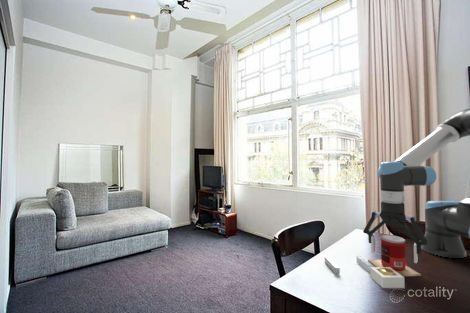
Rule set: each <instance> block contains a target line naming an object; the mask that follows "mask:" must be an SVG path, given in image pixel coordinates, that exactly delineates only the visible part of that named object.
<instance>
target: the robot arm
mask: <svg viewBox="0 0 470 313" xmlns="http://www.w3.org/2000/svg"><path fill="white" fill-rule="evenodd" d="M468 136H469V137H470V108H466V109H464V110H460V111H458V112H456V113H455V114H453V115H451V116H450V117H448V118H447V119H445V120H443V121H441V122H440V123H439V124H438V125H437V126H435V129H434V131H432V132H431V133H430V134H428V135H427V136H426V137H425V138H423V139H422V140H420V141H419V142H418V143H417V144H415V145H414V146H413V147H411V148H410V149H408V150H407V151H406V152H404V153H403V154H402V155H401V156H399V157H398V158H396V159H395V160H394V161H382V162H381V163H380V166H379V167H378V169H377V171H376V173H377V174H376V175H377V177H378V178H379V179H380V180H379V182H380V200H381V201H380V212H378V211H376V210H374V211H372V212H371V217H370V219H369V220H368V222H367V224H366V225H365V227H364V229H363V230H362V232H363V233H364V234H366V235H367V236H368V243H369V244H371V253H373V254H374V253H375V252H376V234H375V232H377V231H378V230H379V229H380V228H382V227H383V226H384V225H385V224H386V226H390V227H395V228H398V227H399V228H401V229H402V230H403V231H404V233H406V235H408V237H409V238H410V239H411V240H412V241H413V242H414V244H413V263H414V264H417V263H418V259H419V258H418V255H421V253H422V251H424V252H426V253H428V254H430V253H431V255H433V254H434V256H436V255H438V256H437V257H440V256H442V257H441V258H445V257H449V258H448V259H451V258H463V257H466V258H467V250H466V249H465V246H464V243H463V241H462V239H461V238H462V237H465V238H468V239H470V170H469V172H468V176H467V177H468V178H467V184H466V189H465V193H464V194H465V195H464V198H463V199H461V200H459V201H456V200H455V201H453V200H428V201H426V203H425V209H424V215H425V217H424V219H425V233H423V231H422V230H421V228H420V227H419V224H418V223H417V220H416V217H415V216H414V215H412V216H406V214H405V203H404V202H405V187H409V186H410V187H411V186H412V187H415V186H417V187H419V186H423V187H425V186H431V185H433V184H434V183H435V182H436V180H437V171H436V170H435V169H434V168H432V167H431V166H428V165H427V166H425V165H422V164H423V163H424V162H426V161H428V160H429V159H430V158H431V157H433V156H434V155H435V154H437V153H438V152H439V151H441V150H442V149H444V147H446V146H448V144H451V143H455V142H457V141H458V140H460V139H463V138H466V137H468ZM377 218H381V220H382V221H380V222H379V223H377V225H376V226H375V227H373V228H372V229H371V227H372V225H373V223H375V220H376V219H377ZM406 220H407V221H408V223H410V224H411V227H412V228H413V230H414V231H415V233H416V235H417V236H416V235H415V234H414V232H413V231H412V230H411V229H410V228H409V227H408V226H407V224H406V223H405V221H406ZM370 229H371V230H370ZM461 236H462V237H461Z"/></svg>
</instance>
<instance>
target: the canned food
mask: <svg viewBox="0 0 470 313" xmlns="http://www.w3.org/2000/svg"><path fill="white" fill-rule="evenodd" d="M406 243H407V242H406V239H404V237H401V236H398V235H392V234H384V235H381V237H380V250H381V251H380V254H381V255H380V260H381V263H382V265H383V266H384V267H390V268H392V269H393V270H395V271H403V270H405V268H406V266H407V262H406V260H407V259H406V257H407V254H406V251H407V248H406V247H407V246H406Z"/></svg>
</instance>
